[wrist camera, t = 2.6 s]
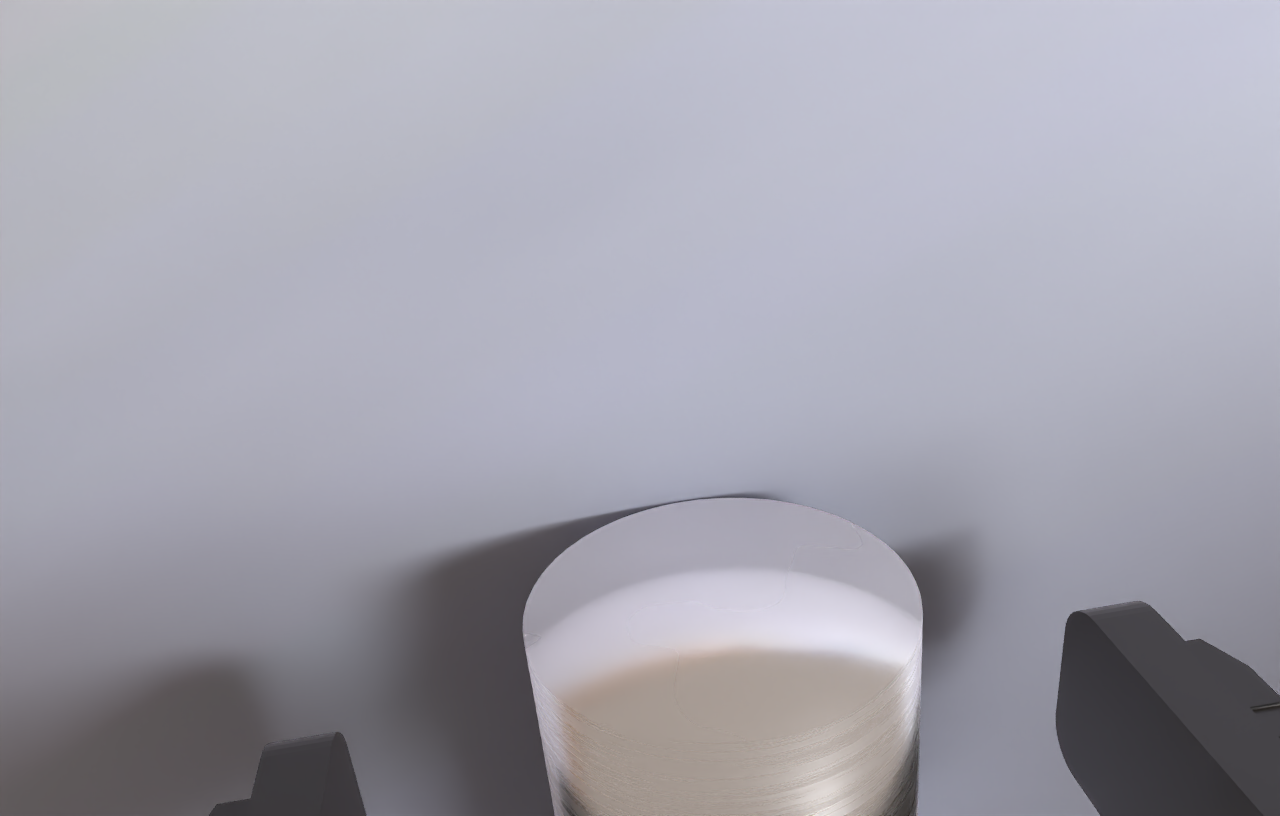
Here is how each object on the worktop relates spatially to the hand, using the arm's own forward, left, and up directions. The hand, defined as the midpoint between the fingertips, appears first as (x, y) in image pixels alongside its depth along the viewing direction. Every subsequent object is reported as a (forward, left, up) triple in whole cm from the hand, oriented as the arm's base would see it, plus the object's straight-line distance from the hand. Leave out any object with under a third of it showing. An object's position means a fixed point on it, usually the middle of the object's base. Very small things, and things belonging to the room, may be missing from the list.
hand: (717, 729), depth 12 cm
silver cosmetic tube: (0, +6, -2) cm, 6 cm away
